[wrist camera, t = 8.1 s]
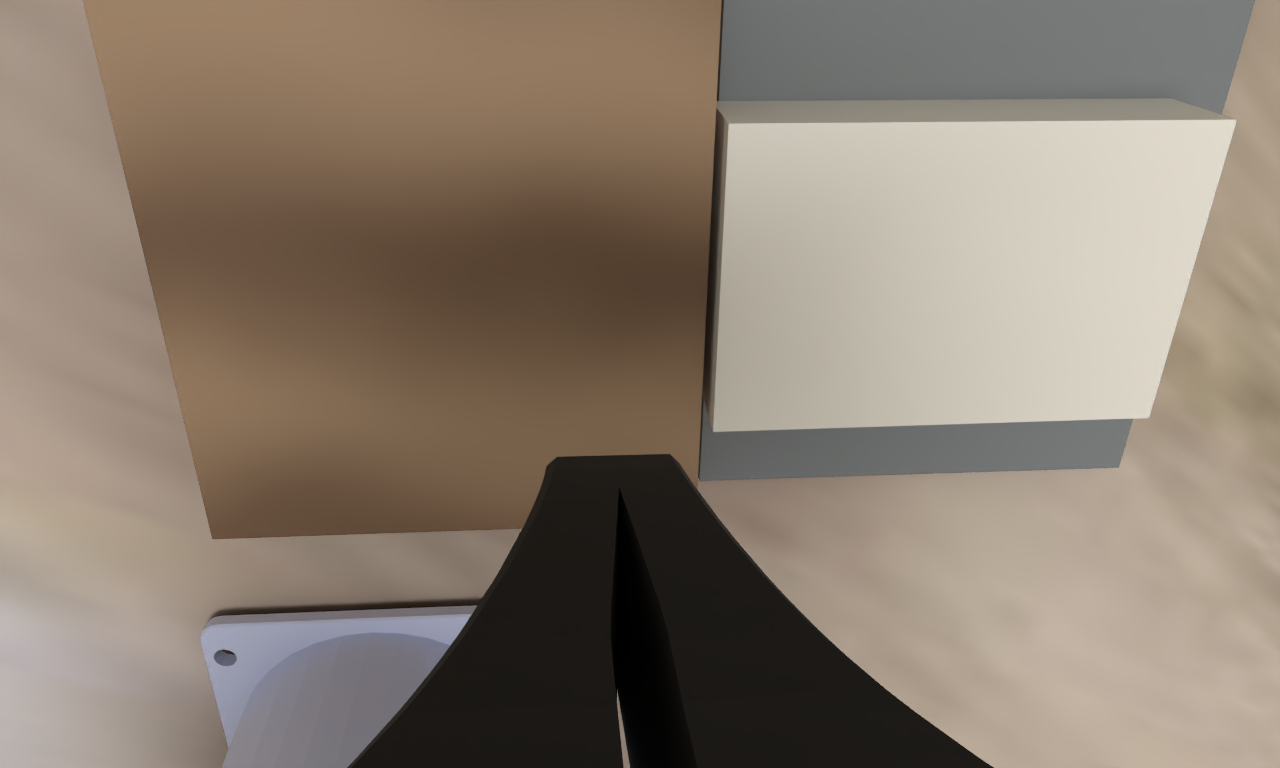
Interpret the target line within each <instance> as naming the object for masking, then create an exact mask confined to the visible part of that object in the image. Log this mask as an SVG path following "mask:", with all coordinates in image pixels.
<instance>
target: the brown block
mask: <svg viewBox="0 0 1280 768" xmlns="http://www.w3.org/2000/svg"><path fill="white" fill-rule="evenodd" d="M721 2H722V0H83V3H84V7H85V11H86V15H87V19H88V24H89V28H90V32H91V36H92V40H93V44H94V49H95V53H96V57H97V61H98V65H99V69H100V73H101V78H102V82H103V86H104V90H105V94H106V98H107V103H108V107H109V111H110V115H111V119H112V123H113V128H114V132H115V136H116V140H117V144H118V148H119V152H120V157H121V161H122V165H123V169H124V173H125V177H126V182H127V186H128V190H129V194H130V198H131V202H132V207H133V211H134V215H135V219H136V223H137V227H138V231H139V236H140V240H141V244H142V248H143V252H144V256H145V261H146V265H147V269H148V273H149V277H150V281H151V286H152V290H153V294H154V298H155V302H156V306H157V310H158V315H159V319H160V323H161V327H162V331H163V335H164V340H165V344H166V348H167V352H168V356H169V360H170V365H171V369H172V373H173V377H174V381H175V385H176V389H177V394H178V398H179V402H180V406H181V410H182V414H183V419H184V423H185V427H186V431H187V435H188V439H189V444H190V448H191V452H192V456H193V460H194V464H195V468H196V473H197V477H198V481H199V485H200V489H201V493H202V498H203V502H204V506H205V510H206V514H207V518H208V523H209V527H210V531H211V535H212V539H232V538H261V537H289V536H318V535H347V534H376V533H404V532H433V531H462V530H491V529H519V528H523V527H524V524H525V522H526V520H527V518H528V516H529V514H530V512H531V510H532V507H533V505H534V503H535V500H536V498H537V496H538V493H539V490H540V488H541V485H542V482H543V479H544V475H545V470H546V466H547V465H548V464H549V463H550V462H551V461H553V460H554V459H555V458H556V457H564V456H604V455H644V454H671V455H672V456H673V457H674V458H675V459H676V460H677V461H678V462H679V463H680V465H681V466H682V468H683V469H684V471H685V472H686V474H687V475H688V477H689V478H690V480H691V481H692V483H693V484H694V486H695V487H696V489H697V486H698V466H699V446H700V426H701V406H702V385H703V365H704V345H705V325H706V305H707V284H708V264H709V244H710V224H711V204H712V184H713V163H714V143H715V123H716V103H717V83H718V63H719V42H720V22H721Z"/></svg>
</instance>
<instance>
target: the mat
mask: <svg viewBox="0 0 1280 768" xmlns="http://www.w3.org/2000/svg"><path fill="white" fill-rule="evenodd" d="M1254 2H1255V0H722V2H721V22H720V42H719V63H718V83H717V101H814V100H973V99H1133V98H1172V99H1175V100H1178V101H1181V102H1184V103H1187V104H1190V105H1193V106H1196V107H1199V108H1203V109H1206V110H1209V111H1212V112H1215V113H1218V114H1221V115H1222V112H1223V108H1224V105H1225V101H1226V98H1227V95H1228V91H1229V88H1230V84H1231V81H1232V77H1233V74H1234V71H1235V67H1236V64H1237V60H1238V57H1239V53H1240V50H1241V47H1242V43H1243V40H1244V36H1245V33H1246V29H1247V26H1248V23H1249V19H1250V16H1251V12H1252V9H1253V5H1254ZM1132 420H1133V419H1102V420H1071V421H1039V422H1008V423H977V424H946V425H915V426H884V427H853V428H822V429H790V430H759V431H728V432H713V430H712V427H711V423H710V420H709V416H708V413H707V409H706V406H705V403H704V399H703V396H702V406H701V426H700V446H699V466H698V476H699V480H700V481H708V480H740V479H772V478H804V477H835V476H867V475H899V474H931V473H963V472H994V471H1026V470H1058V469H1090V468H1119V465H1120V461H1121V458H1122V454H1123V451H1124V447H1125V444H1126V441H1127V437H1128V434H1129V430H1130V427H1131V424H1132Z"/></svg>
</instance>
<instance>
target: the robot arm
mask: <svg viewBox="0 0 1280 768" xmlns="http://www.w3.org/2000/svg"><path fill="white" fill-rule="evenodd" d="M200 642H201V646H202V650H203V654H204V657H205V661H206V665H207V669H208V673H209V676H210V680H211V684H212V688H213V691H214V695H215V699H216V703H217V707H218V710H219V714H220V718H221V722H222V726H223V729H224V733H225V737H226V741H227V744H228V748H229V749H228V752H227V754H226V757H225V759H224V762H223V765H222V767H221V768H623V759H622V749H621V740H620V730H619V720H618V710H617V690H618V696H619V702H620V708H621V714H622V720H623V726H624V732H625V738H626V744H627V750H628V757H629V762H630V768H993V767H992V766H990V765H989V764H987V763H986V762H984V761H983V760H981V759H980V758H978V757H977V756H976V755H974V754H973V753H971V752H970V751H969V750H967V749H966V748H964V747H963V746H962V745H960V744H959V743H957V742H956V741H955V740H953V739H952V738H950V737H949V736H948V735H946V734H945V733H943V732H942V731H941V730H939V729H938V728H937V727H935V726H934V725H932V724H931V723H930V722H928V721H927V720H925V719H924V718H923V717H921V716H920V715H918V714H917V713H916V712H914V711H913V710H912V709H910V708H909V707H908V706H907V705H905V704H904V703H903V702H901V701H900V700H899V699H898V698H896V697H895V696H894V695H892V694H891V693H890V692H889V691H887V690H886V689H885V688H884V687H882V686H881V685H880V684H879V683H878V682H876V681H875V680H874V679H873V678H872V677H871V676H869V675H868V674H867V673H866V672H865V671H864V670H862V669H861V668H860V667H859V666H858V665H856V664H855V663H854V662H853V661H852V660H851V659H849V658H848V657H847V656H846V655H845V654H844V653H843V652H842V651H840V650H839V649H838V648H837V647H836V646H835V645H834V644H833V643H832V642H831V641H830V640H829V639H828V638H827V637H826V636H824V635H823V634H822V633H821V632H820V631H819V630H818V629H817V628H816V627H815V626H814V625H813V624H812V623H811V622H810V621H809V620H808V619H807V618H806V617H805V616H804V615H803V614H802V613H801V612H800V611H799V610H798V609H797V608H796V607H795V606H794V605H793V604H792V603H791V601H790V600H789V599H788V598H787V597H786V596H785V595H784V594H783V593H782V592H781V591H780V590H779V589H778V588H777V587H776V586H775V585H774V583H773V582H772V581H771V580H770V579H769V578H768V577H767V576H766V575H765V574H764V572H763V571H762V570H761V569H760V568H759V567H758V565H757V564H756V563H755V562H754V561H753V560H752V558H751V557H750V556H749V555H748V554H747V552H746V551H745V550H744V549H743V548H742V547H741V545H740V544H739V543H738V542H737V541H736V540H735V538H734V537H733V536H732V535H731V533H730V532H729V531H728V530H727V528H726V527H725V526H724V525H723V523H722V522H721V521H720V520H719V518H718V517H717V516H716V514H715V513H714V512H713V510H712V509H711V508H710V506H709V505H708V504H707V502H706V501H705V500H704V498H703V497H702V496H701V494H700V493H699V491H698V490H697V489H696V487H695V486H694V484H693V483H692V481H691V480H690V478H689V477H688V475H687V474H686V472H685V471H684V469H683V468H682V466H681V465H680V463H679V462H678V461H677V460H676V459H675V458H674V457H673V456H672V455H671V454H644V455H604V456H564V457H556V458H555V459H554V460H553V461H551V462H550V463H549V464H548V465H547V466H546V470H545V475H544V479H543V482H542V485H541V488H540V490H539V493H538V496H537V498H536V500H535V503H534V505H533V507H532V510H531V512H530V514H529V516H528V518H527V520H526V522H525V524H524V527H523V529H522V531H521V532H520V534H519V536H518V538H517V540H516V542H515V543H514V545H513V547H512V549H511V551H510V553H509V554H508V556H507V558H506V560H505V562H504V564H503V565H502V567H501V569H500V571H499V573H498V574H497V576H496V578H495V579H494V581H493V583H492V584H491V586H490V587H489V589H488V590H487V592H486V593H485V595H484V596H483V598H482V599H481V601H480V602H479V604H478V605H473V606H449V607H424V608H400V609H375V610H351V611H326V612H302V613H277V614H253V615H228V616H218V617H214V618H212V619H211V620H209V621H208V622H207V623H206V625H205V627H204V629H203V631H202V633H201V635H200ZM223 649H224V650H230V651H231V652H233V653H234V654H233V655H232V654H226V653H225V652H223V651H221V650H223Z"/></svg>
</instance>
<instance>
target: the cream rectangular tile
mask: <svg viewBox="0 0 1280 768" xmlns="http://www.w3.org/2000/svg"><path fill="white" fill-rule="evenodd" d="M1236 121H1237V119H1234V118H1230V117H1227V116H1224V115H1221V114H1218V113H1215V112H1212V111H1209V110H1206V109H1203V108H1199V107H1196V106H1193V105H1190V104H1187V103H1184V102H1181V101H1178V100H1175V99H1172V98H1133V99H973V100H814V101H717V103H716V123H715V143H714V163H713V184H712V204H711V224H710V244H709V264H708V284H707V305H706V325H705V345H704V365H703V385H702V396H703V399H704V403H705V406H706V409H707V413H708V416H709V420H710V423H711V427H712V430H713V432H728V431H759V430H790V429H822V428H853V427H884V426H915V425H946V424H977V423H1008V422H1039V421H1071V420H1102V419H1133V418H1149V416H1150V412H1151V409H1152V406H1153V402H1154V399H1155V395H1156V392H1157V389H1158V385H1159V382H1160V379H1161V375H1162V372H1163V368H1164V365H1165V362H1166V358H1167V355H1168V351H1169V348H1170V345H1171V341H1172V338H1173V334H1174V331H1175V328H1176V324H1177V321H1178V317H1179V314H1180V311H1181V307H1182V304H1183V301H1184V297H1185V294H1186V290H1187V287H1188V284H1189V280H1190V277H1191V273H1192V270H1193V267H1194V263H1195V260H1196V256H1197V253H1198V250H1199V246H1200V243H1201V239H1202V236H1203V233H1204V229H1205V226H1206V223H1207V219H1208V216H1209V212H1210V209H1211V206H1212V202H1213V199H1214V195H1215V192H1216V189H1217V185H1218V182H1219V178H1220V175H1221V172H1222V168H1223V165H1224V162H1225V158H1226V155H1227V151H1228V148H1229V145H1230V141H1231V138H1232V134H1233V131H1234V128H1235V124H1236Z"/></svg>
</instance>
